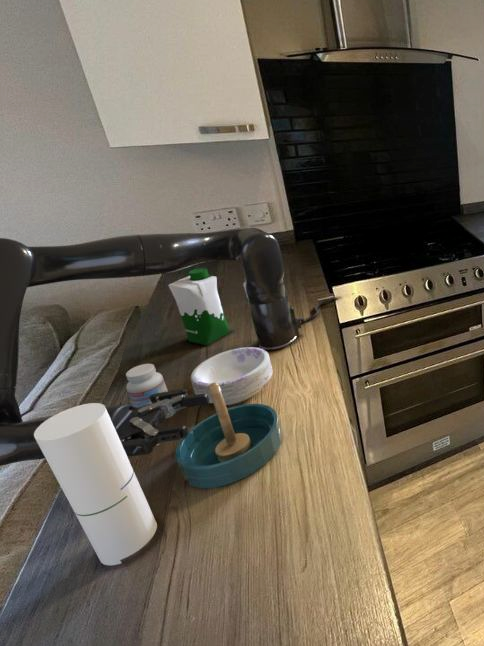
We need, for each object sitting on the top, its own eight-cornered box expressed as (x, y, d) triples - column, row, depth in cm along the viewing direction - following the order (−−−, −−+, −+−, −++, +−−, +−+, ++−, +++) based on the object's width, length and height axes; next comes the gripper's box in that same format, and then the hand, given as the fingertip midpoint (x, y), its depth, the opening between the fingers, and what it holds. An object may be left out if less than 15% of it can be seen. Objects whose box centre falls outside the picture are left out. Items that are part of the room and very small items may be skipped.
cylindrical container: (169, 520, 74) (119, 402, 65) (134, 564, 67) (72, 440, 58) (125, 521, 74) (69, 403, 65) (86, 566, 67) (17, 441, 58)
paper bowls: (280, 366, 113) (273, 340, 110) (269, 405, 100) (261, 376, 97) (210, 379, 108) (201, 352, 105) (189, 422, 95) (179, 393, 92)
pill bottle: (131, 423, 94) (114, 381, 90) (147, 404, 100) (131, 363, 96) (165, 418, 96) (148, 376, 92) (178, 399, 101) (163, 359, 97)
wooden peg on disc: (242, 436, 90) (221, 370, 84) (257, 447, 87) (237, 380, 81) (212, 455, 86) (188, 386, 80) (227, 467, 83) (203, 397, 77)
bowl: (255, 413, 97) (250, 393, 95) (299, 443, 89) (294, 422, 87) (168, 466, 84) (159, 444, 82) (210, 506, 76) (202, 483, 74)
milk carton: (235, 331, 128) (218, 269, 121) (205, 348, 120) (184, 283, 113) (213, 326, 131) (194, 265, 124) (182, 342, 123) (160, 278, 115)
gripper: (55, 444, 70) (172, 426, 74) (112, 387, 83) (209, 374, 87) (73, 478, 73) (185, 459, 77) (125, 418, 86) (219, 404, 90)
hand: (197, 414), depth 82 cm, fingers open, 8 cm apart
